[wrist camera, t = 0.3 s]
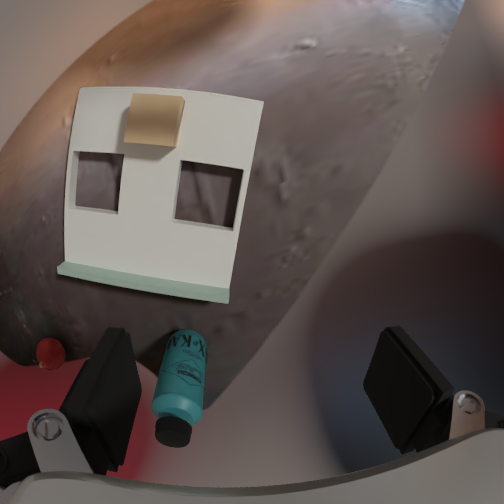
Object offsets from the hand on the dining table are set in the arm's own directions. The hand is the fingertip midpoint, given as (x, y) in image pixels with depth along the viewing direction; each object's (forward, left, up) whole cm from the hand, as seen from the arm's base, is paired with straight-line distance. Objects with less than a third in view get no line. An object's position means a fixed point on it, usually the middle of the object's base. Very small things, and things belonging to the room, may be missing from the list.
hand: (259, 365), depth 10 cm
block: (-10, -11, -28) cm, 32 cm away
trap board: (-2, -12, -30) cm, 32 cm away
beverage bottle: (+21, -4, -30) cm, 37 cm away
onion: (+28, -29, -30) cm, 51 cm away
